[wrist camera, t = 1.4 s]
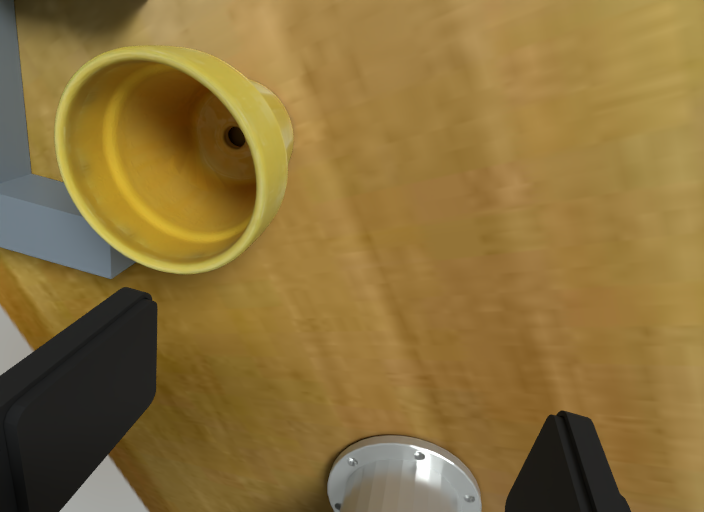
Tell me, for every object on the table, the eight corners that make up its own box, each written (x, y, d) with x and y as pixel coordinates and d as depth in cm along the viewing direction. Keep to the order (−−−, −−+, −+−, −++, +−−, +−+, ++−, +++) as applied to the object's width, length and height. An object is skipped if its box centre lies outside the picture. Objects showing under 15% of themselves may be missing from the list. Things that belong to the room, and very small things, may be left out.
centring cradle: (146, 255, 35) (111, 279, 31) (1, 214, 36) (-50, 232, 32) (149, -84, 26) (100, -105, 22) (-46, -125, 27) (-123, -152, 23)
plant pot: (195, 221, 33) (101, 285, 24) (144, 64, 29) (11, 71, 20) (337, 203, 30) (290, 267, 21) (302, 28, 26) (227, 19, 18)
